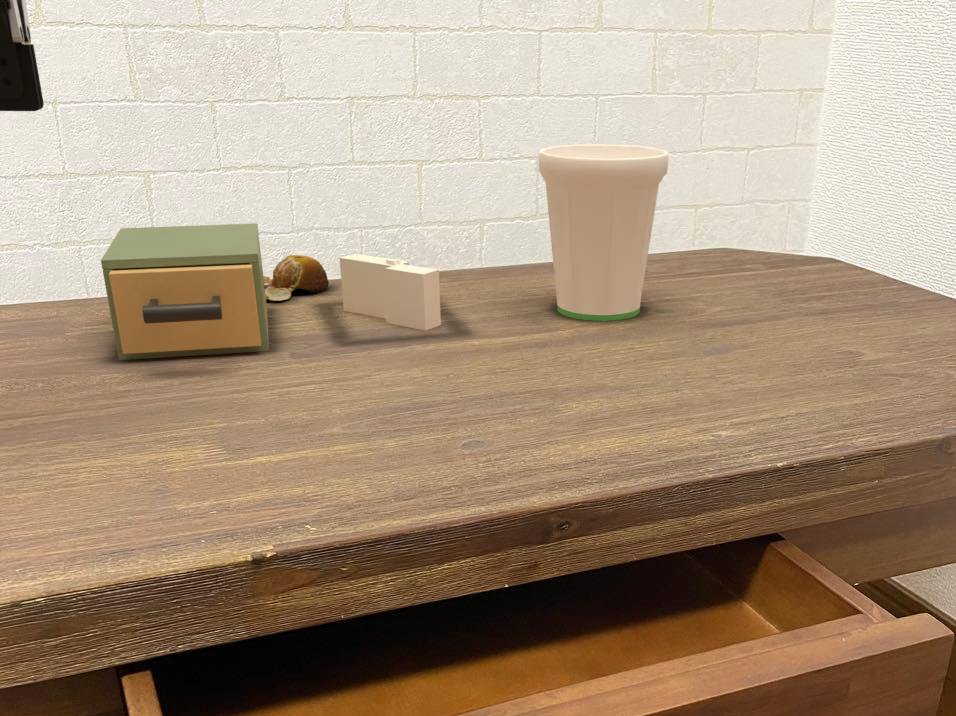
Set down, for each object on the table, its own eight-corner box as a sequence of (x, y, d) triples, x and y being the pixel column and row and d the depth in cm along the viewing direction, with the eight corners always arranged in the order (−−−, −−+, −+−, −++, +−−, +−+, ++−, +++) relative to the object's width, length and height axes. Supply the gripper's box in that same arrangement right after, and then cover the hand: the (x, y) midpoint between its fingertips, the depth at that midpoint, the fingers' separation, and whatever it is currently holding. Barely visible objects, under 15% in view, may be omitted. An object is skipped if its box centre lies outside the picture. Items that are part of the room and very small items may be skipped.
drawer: (261, 361, 87) (251, 279, 84) (116, 370, 84) (101, 286, 81) (260, 308, 102) (252, 237, 99) (138, 314, 100) (125, 242, 97)
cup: (684, 317, 103) (696, 154, 97) (577, 333, 98) (581, 162, 91) (616, 291, 113) (622, 141, 106) (515, 304, 108) (515, 147, 101)
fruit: (239, 289, 113) (235, 255, 111) (310, 279, 117) (307, 246, 115) (269, 305, 107) (265, 269, 105) (343, 294, 111) (340, 259, 109)
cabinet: (269, 351, 92) (257, 253, 88) (118, 361, 89) (100, 259, 86) (267, 310, 105) (257, 223, 101) (135, 318, 102) (120, 228, 98)
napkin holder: (321, 306, 107) (316, 249, 104) (429, 298, 110) (427, 243, 107) (344, 345, 94) (339, 282, 91) (466, 335, 97) (464, 273, 95)
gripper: (-4, -249, 56) (58, 119, 64) (45, -198, 69) (92, 103, 77) (-161, -261, 54) (-77, 119, 62) (-80, -206, 67) (-19, 102, 75)
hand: (16, 109), depth 69 cm, fingers closed
